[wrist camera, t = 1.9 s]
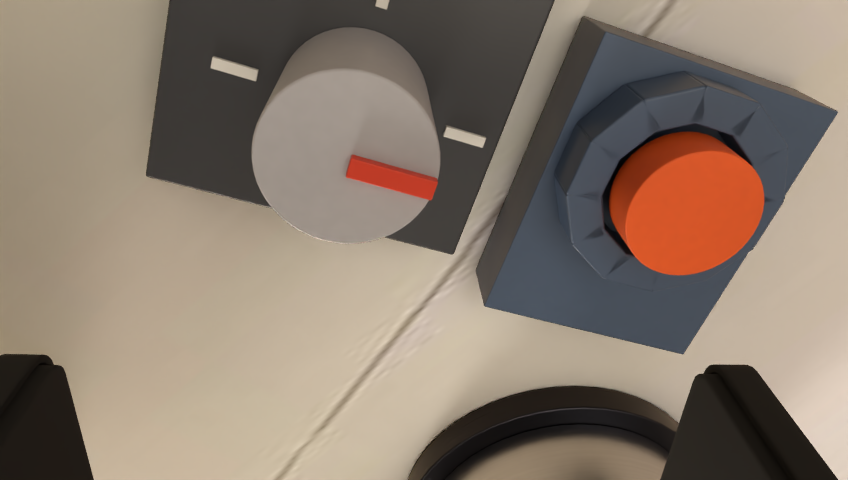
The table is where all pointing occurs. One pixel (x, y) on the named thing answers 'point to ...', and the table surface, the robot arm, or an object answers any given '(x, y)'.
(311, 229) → the dial
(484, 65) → the console
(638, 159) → the button
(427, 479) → the kettle
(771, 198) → the button housing
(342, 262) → the table surface
